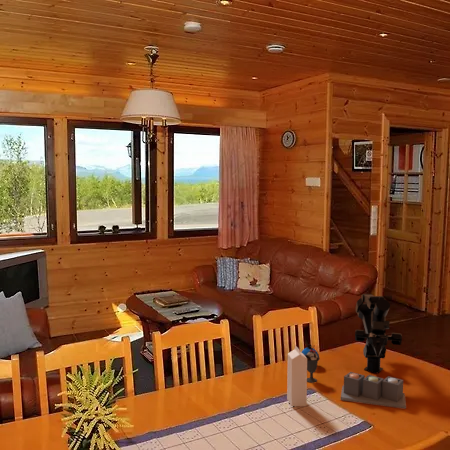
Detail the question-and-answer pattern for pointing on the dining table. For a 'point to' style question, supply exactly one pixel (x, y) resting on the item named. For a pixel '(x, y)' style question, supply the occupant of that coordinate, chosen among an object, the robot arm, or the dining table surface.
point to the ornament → (308, 350)
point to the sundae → (312, 364)
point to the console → (373, 391)
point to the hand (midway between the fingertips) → (377, 356)
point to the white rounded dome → (393, 380)
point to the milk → (297, 378)
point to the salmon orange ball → (354, 375)
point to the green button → (373, 379)
